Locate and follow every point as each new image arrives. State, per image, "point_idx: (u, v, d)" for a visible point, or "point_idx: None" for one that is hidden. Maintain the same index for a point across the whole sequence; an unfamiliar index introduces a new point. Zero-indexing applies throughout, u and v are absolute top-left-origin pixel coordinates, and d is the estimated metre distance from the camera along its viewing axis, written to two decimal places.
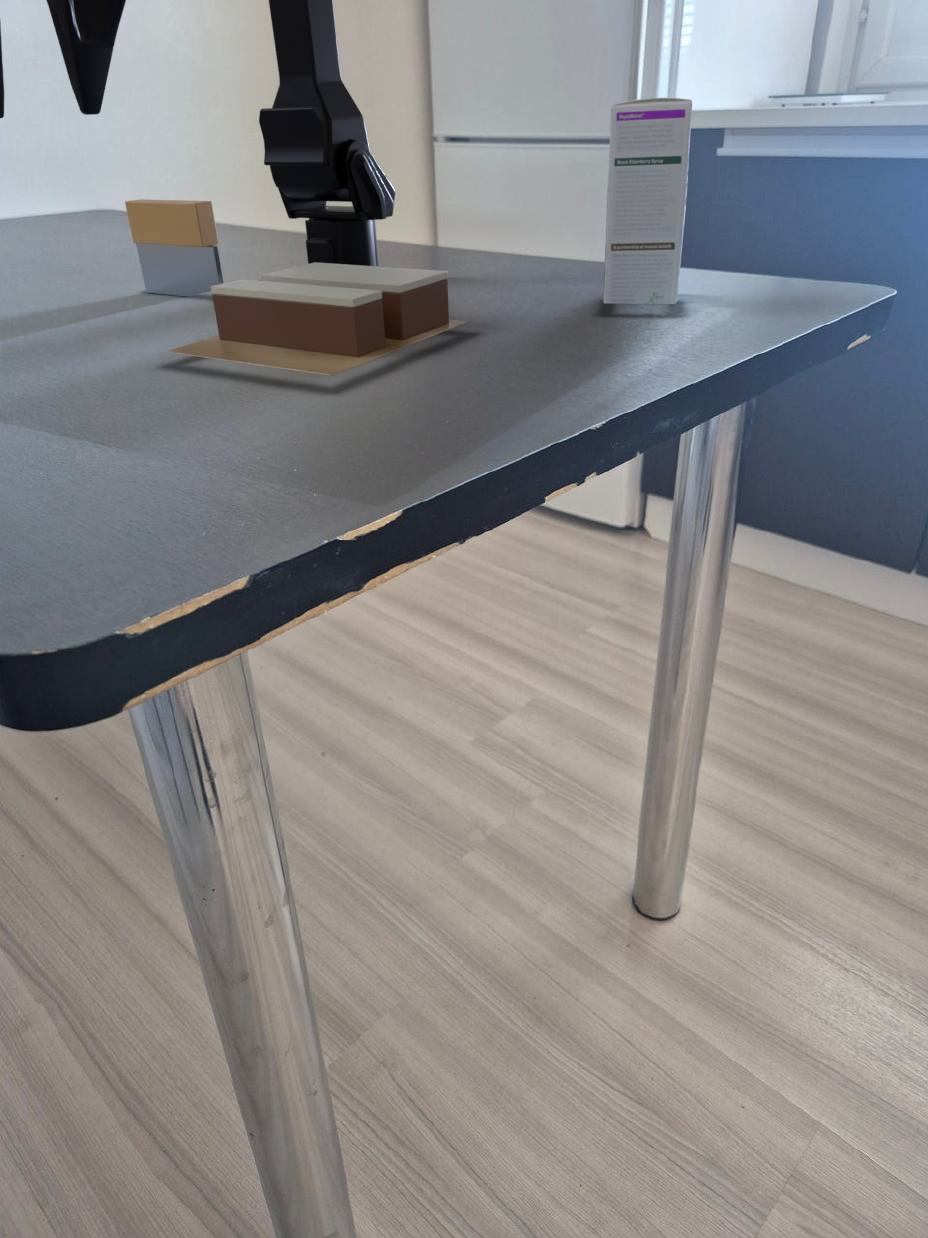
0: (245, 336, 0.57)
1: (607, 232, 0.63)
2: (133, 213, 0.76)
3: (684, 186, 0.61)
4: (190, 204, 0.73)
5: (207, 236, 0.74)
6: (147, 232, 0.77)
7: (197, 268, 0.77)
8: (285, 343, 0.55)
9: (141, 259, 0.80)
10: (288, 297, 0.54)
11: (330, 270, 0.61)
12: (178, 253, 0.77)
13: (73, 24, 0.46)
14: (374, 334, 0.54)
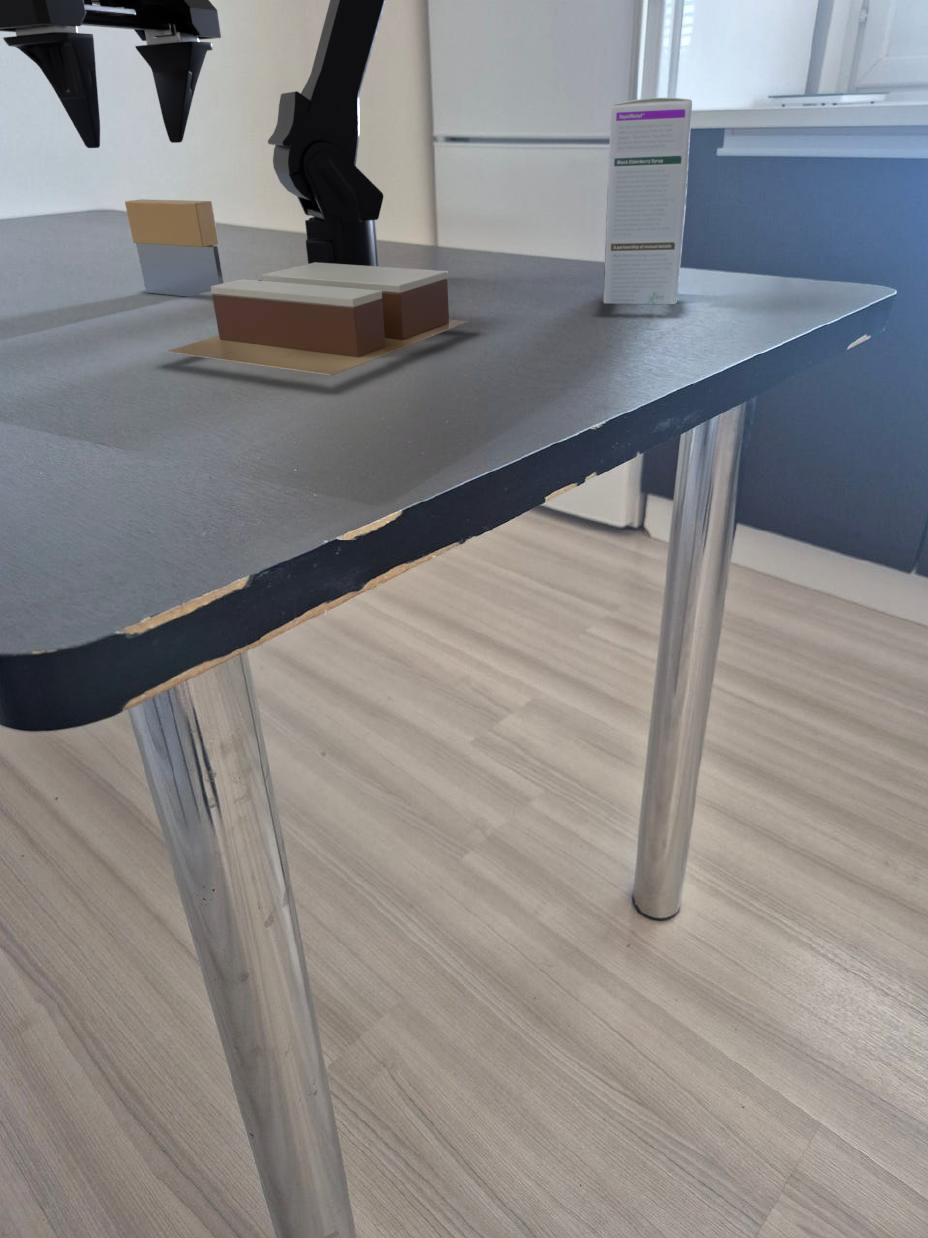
0: (245, 336, 0.57)
1: (607, 232, 0.63)
2: (133, 213, 0.76)
3: (684, 186, 0.61)
4: (190, 204, 0.73)
5: (207, 236, 0.74)
6: (147, 232, 0.77)
7: (197, 268, 0.77)
8: (285, 343, 0.55)
9: (141, 259, 0.80)
10: (288, 297, 0.54)
11: (330, 270, 0.61)
12: (178, 253, 0.77)
13: (53, 83, 0.61)
14: (374, 334, 0.54)
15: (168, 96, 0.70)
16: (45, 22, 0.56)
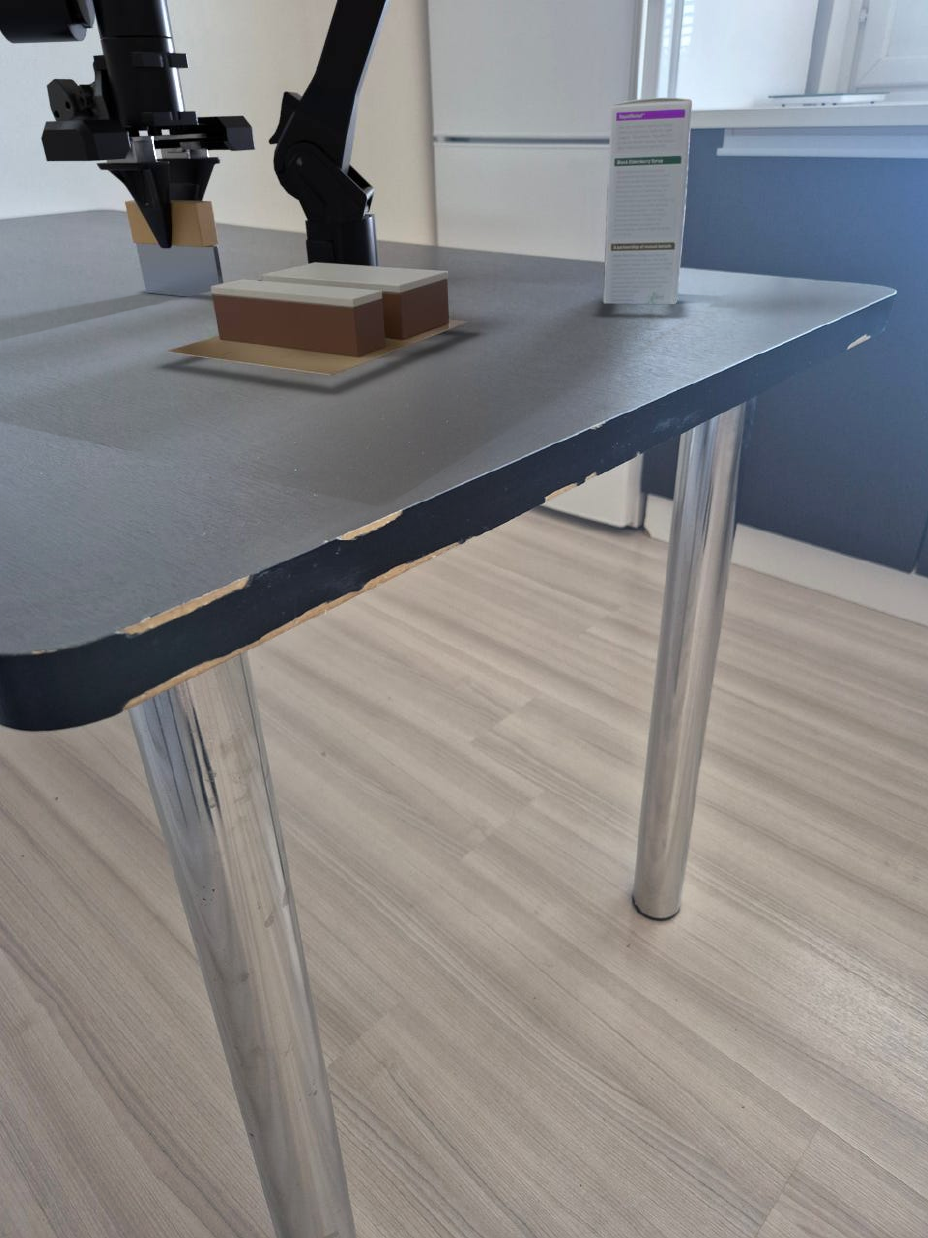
0: (245, 336, 0.57)
1: (607, 232, 0.63)
2: (133, 213, 0.76)
3: (684, 186, 0.61)
4: (190, 204, 0.73)
5: (207, 236, 0.74)
6: (147, 232, 0.77)
7: (197, 268, 0.77)
8: (285, 343, 0.55)
9: (141, 259, 0.80)
10: (288, 297, 0.54)
11: (330, 270, 0.61)
12: (178, 253, 0.77)
13: (135, 198, 0.73)
14: (374, 334, 0.54)
15: None
16: (94, 159, 0.65)
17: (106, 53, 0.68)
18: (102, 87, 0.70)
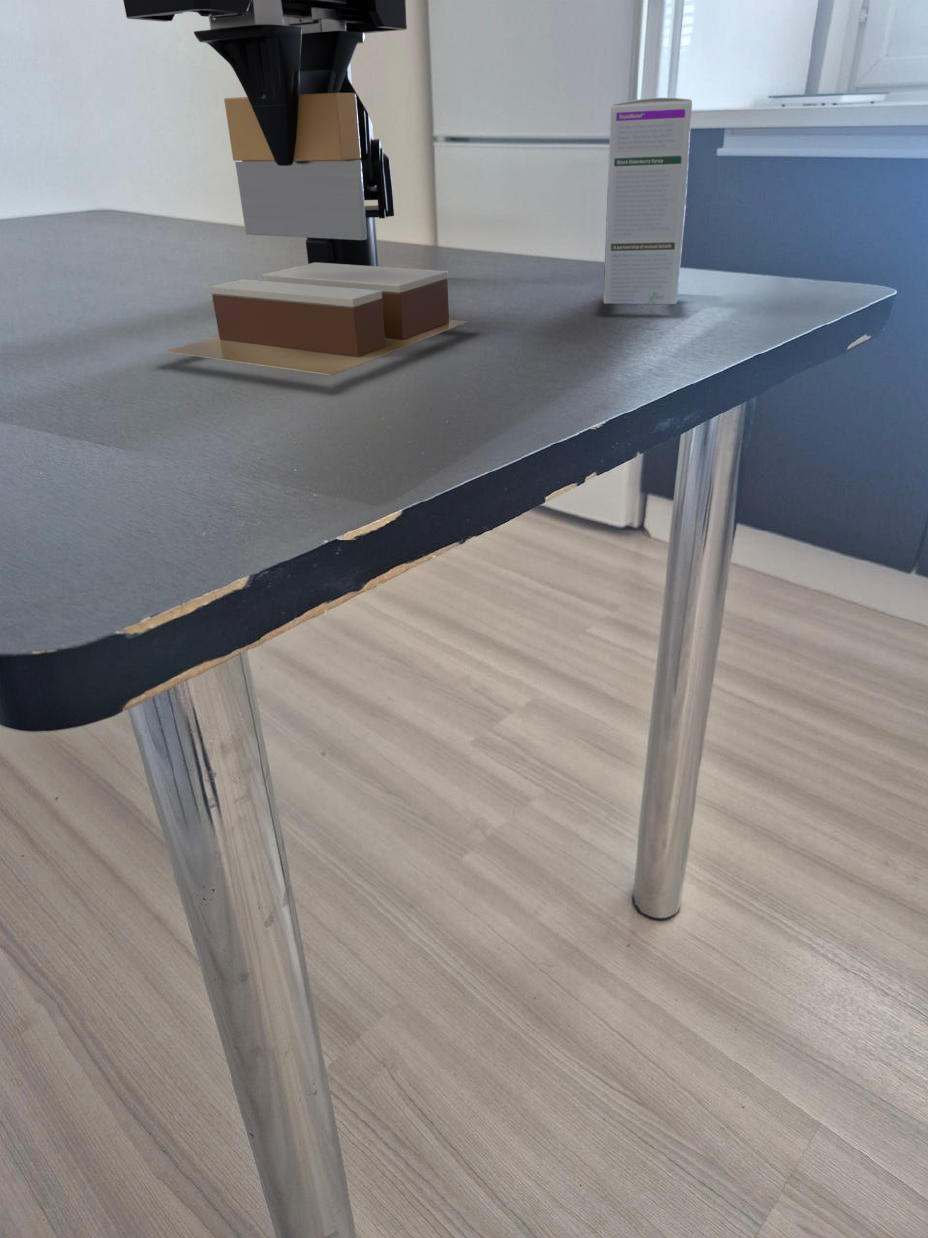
0: (245, 336, 0.57)
1: (607, 232, 0.63)
2: (236, 115, 0.53)
3: (684, 186, 0.61)
4: (327, 95, 0.50)
5: (348, 145, 0.51)
6: (255, 144, 0.54)
7: (327, 194, 0.53)
8: (285, 343, 0.55)
9: (242, 186, 0.56)
10: (288, 297, 0.54)
11: (330, 270, 0.61)
12: (299, 173, 0.54)
13: (246, 87, 0.50)
14: (374, 334, 0.54)
15: None
16: (204, 7, 0.42)
17: None
18: None
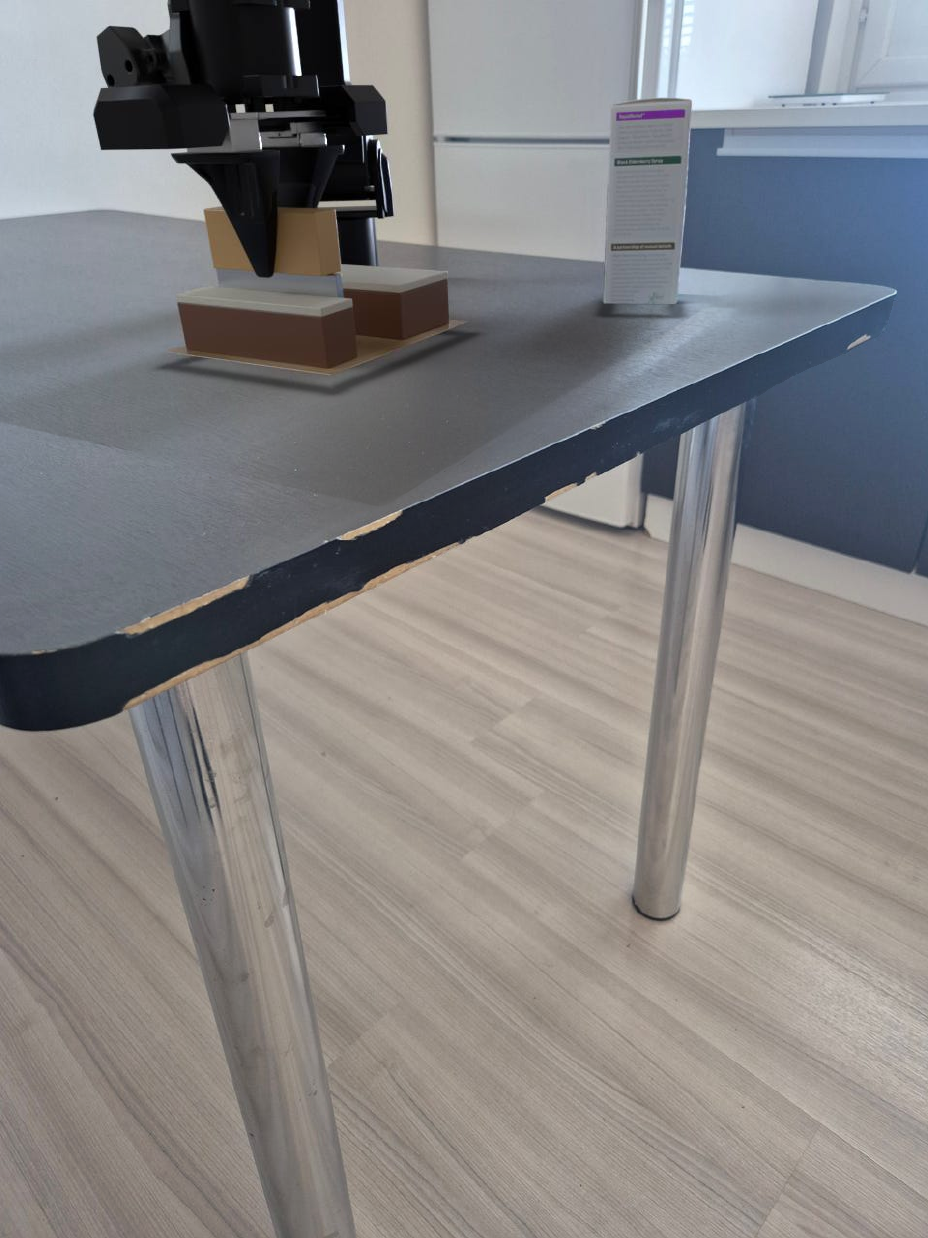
0: (212, 346, 0.55)
1: (607, 232, 0.63)
2: (215, 226, 0.53)
3: (684, 186, 0.61)
4: (306, 214, 0.49)
5: (328, 261, 0.51)
6: (235, 254, 0.53)
7: None
8: (253, 353, 0.53)
9: None
10: (254, 306, 0.51)
11: None
12: (280, 284, 0.53)
13: (224, 205, 0.50)
14: (345, 344, 0.52)
15: None
16: (178, 147, 0.42)
17: None
18: (181, 38, 0.46)
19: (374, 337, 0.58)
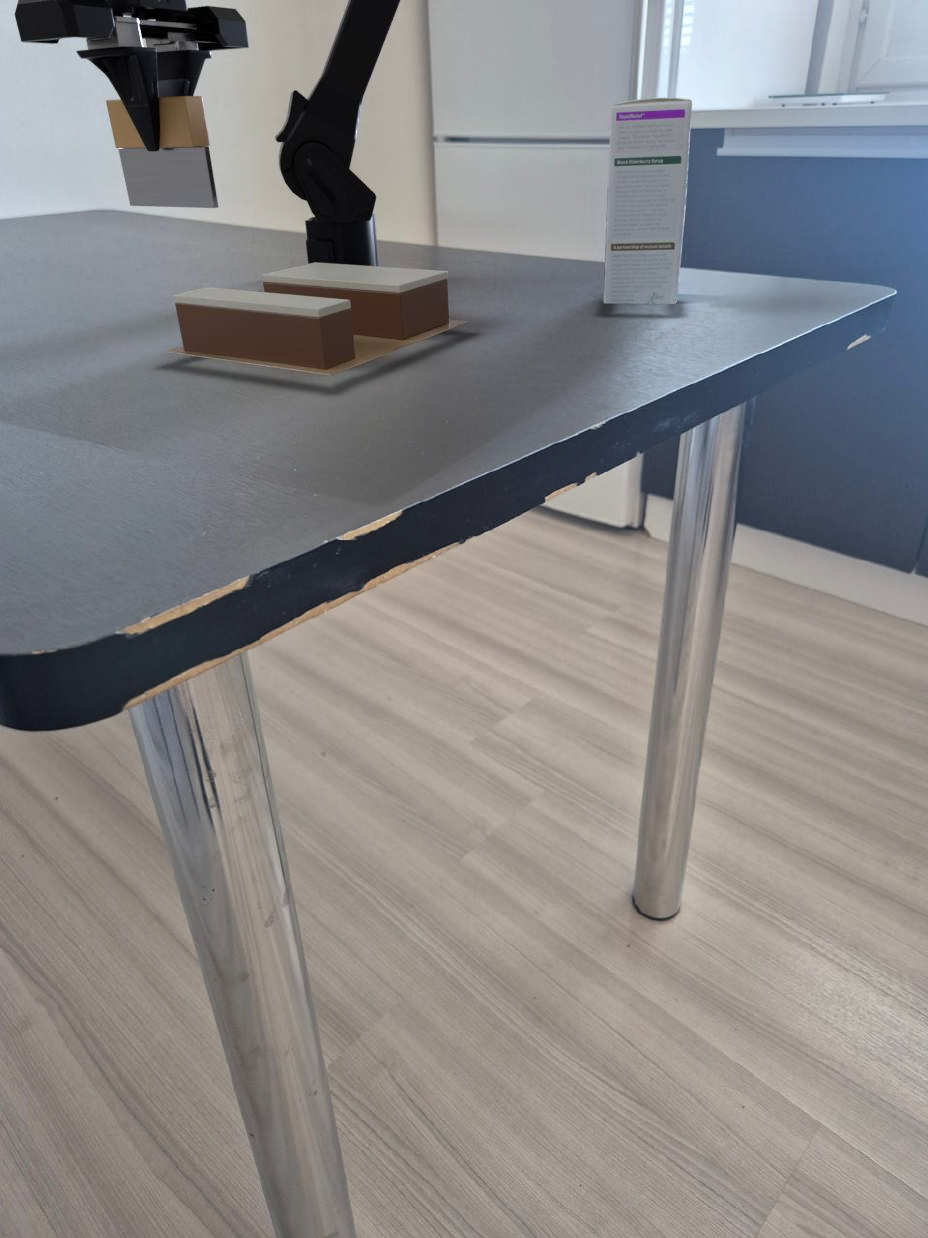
0: (210, 347, 0.55)
1: (607, 232, 0.63)
2: (115, 113, 0.70)
3: (684, 186, 0.61)
4: (178, 98, 0.66)
5: (198, 135, 0.68)
6: (130, 134, 0.70)
7: (186, 173, 0.70)
8: (250, 354, 0.53)
9: (124, 167, 0.73)
10: (252, 307, 0.51)
11: (330, 270, 0.61)
12: (165, 157, 0.71)
13: (119, 92, 0.67)
14: (342, 345, 0.51)
15: None
16: (74, 35, 0.59)
17: None
18: None
19: (374, 337, 0.58)
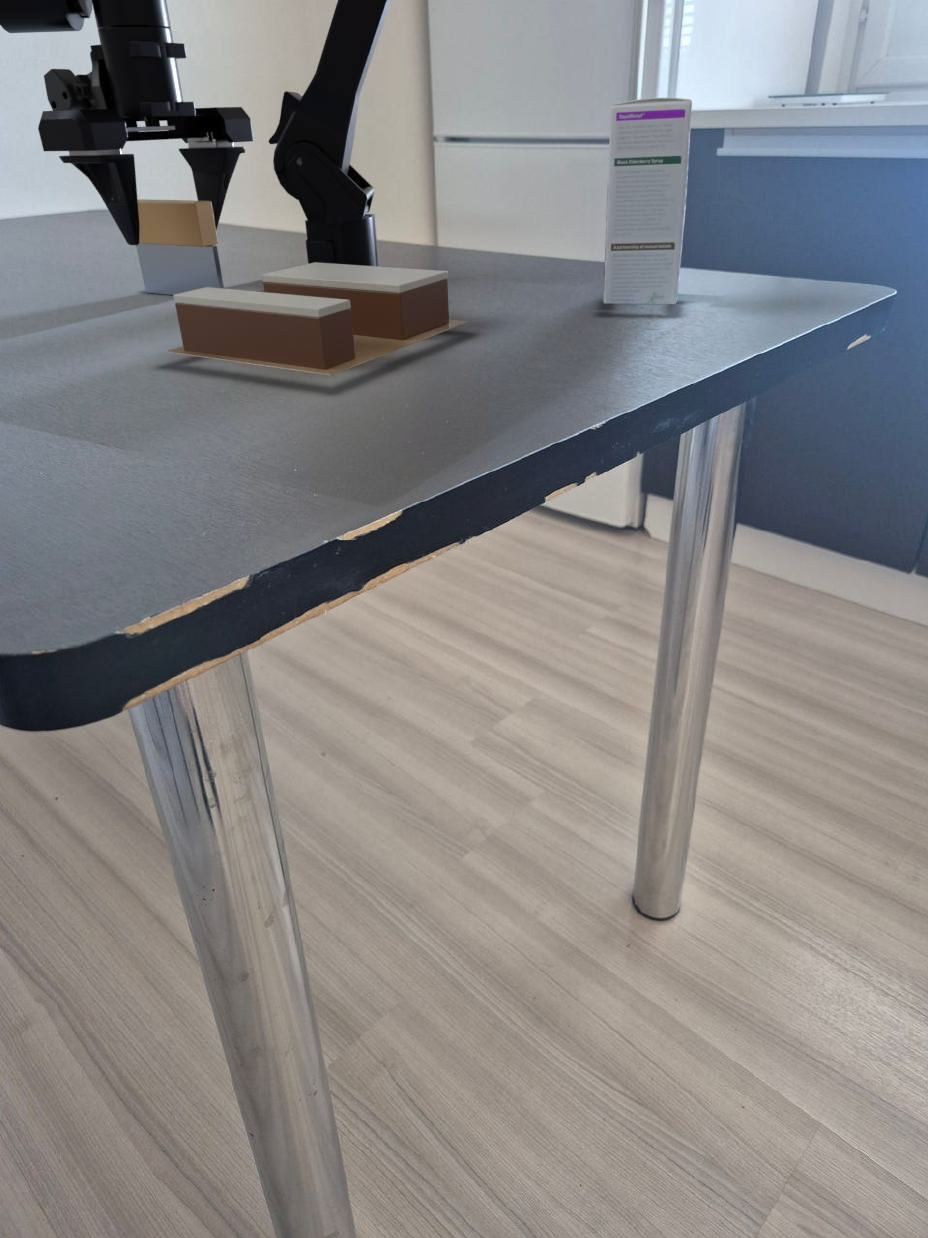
0: (210, 347, 0.55)
1: (607, 232, 0.63)
2: None
3: (684, 186, 0.61)
4: (189, 204, 0.73)
5: (207, 236, 0.74)
6: (146, 232, 0.77)
7: (196, 268, 0.77)
8: (250, 354, 0.53)
9: (141, 259, 0.80)
10: (252, 307, 0.51)
11: (330, 270, 0.61)
12: (178, 253, 0.77)
13: (100, 192, 0.71)
14: (342, 345, 0.51)
15: (205, 193, 0.78)
16: (91, 149, 0.65)
17: (104, 43, 0.67)
18: (99, 77, 0.69)
19: (374, 337, 0.58)
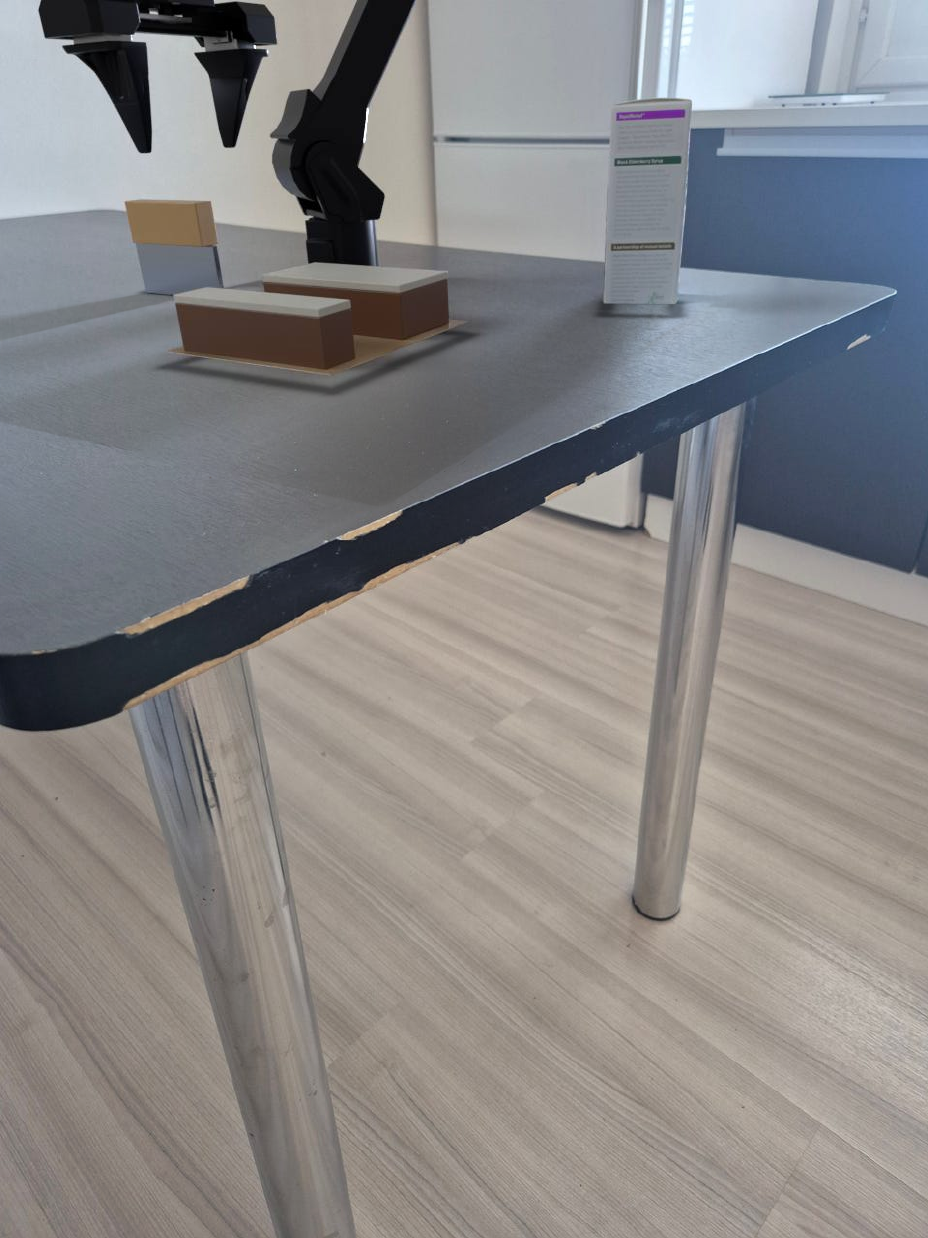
0: (210, 347, 0.55)
1: (607, 232, 0.63)
2: (133, 213, 0.77)
3: (684, 186, 0.61)
4: (190, 204, 0.73)
5: (207, 236, 0.74)
6: (146, 232, 0.77)
7: (196, 268, 0.77)
8: (250, 354, 0.53)
9: (141, 259, 0.80)
10: (252, 307, 0.51)
11: (330, 270, 0.61)
12: (178, 253, 0.77)
13: (108, 90, 0.63)
14: (342, 345, 0.51)
15: (223, 102, 0.71)
16: (99, 31, 0.57)
17: None
18: None
19: (374, 337, 0.58)
